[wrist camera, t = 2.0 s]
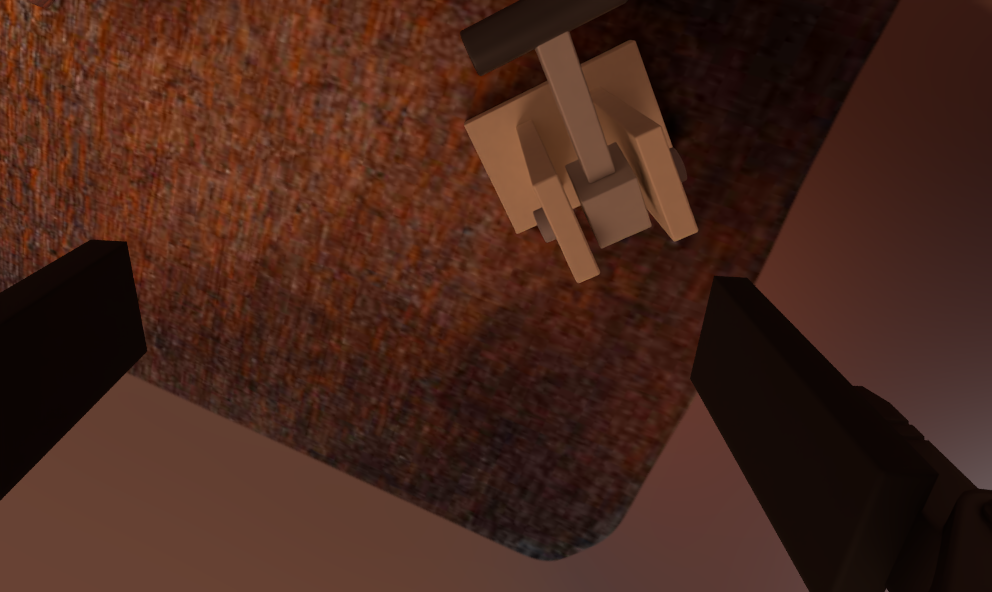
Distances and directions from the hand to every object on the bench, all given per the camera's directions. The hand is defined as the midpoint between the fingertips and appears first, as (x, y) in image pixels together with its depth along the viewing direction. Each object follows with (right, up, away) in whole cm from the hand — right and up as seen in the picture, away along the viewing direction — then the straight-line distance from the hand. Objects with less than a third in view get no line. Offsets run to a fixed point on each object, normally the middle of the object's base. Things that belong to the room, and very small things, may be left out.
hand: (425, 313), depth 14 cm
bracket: (+6, +9, +21) cm, 24 cm away
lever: (+4, +7, +9) cm, 12 cm away
